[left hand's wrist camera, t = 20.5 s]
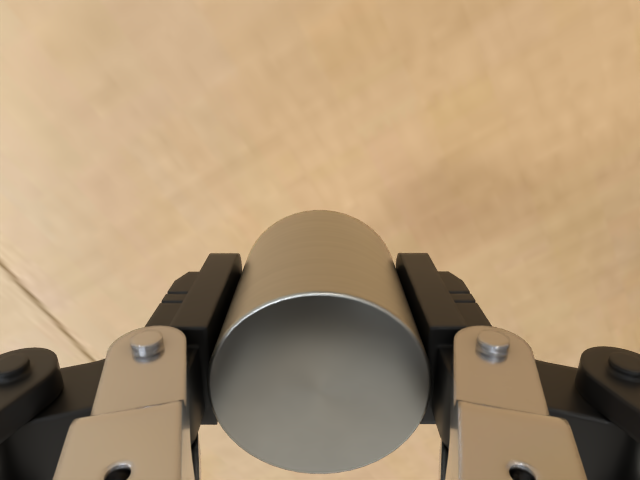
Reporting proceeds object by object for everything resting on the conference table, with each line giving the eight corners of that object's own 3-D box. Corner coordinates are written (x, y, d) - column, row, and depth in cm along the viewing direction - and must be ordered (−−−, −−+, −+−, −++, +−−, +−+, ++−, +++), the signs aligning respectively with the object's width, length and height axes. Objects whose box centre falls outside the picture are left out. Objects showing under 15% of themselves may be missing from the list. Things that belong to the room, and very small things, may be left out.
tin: (419, 238, 12) (472, 334, 8) (362, 360, 13) (381, 496, 9) (270, 187, 11) (241, 260, 7) (227, 319, 13) (182, 444, 9)
